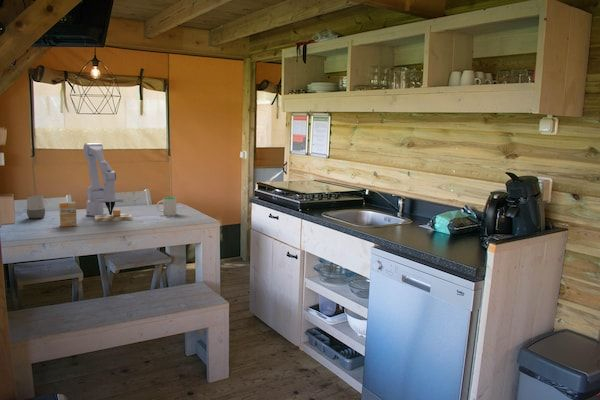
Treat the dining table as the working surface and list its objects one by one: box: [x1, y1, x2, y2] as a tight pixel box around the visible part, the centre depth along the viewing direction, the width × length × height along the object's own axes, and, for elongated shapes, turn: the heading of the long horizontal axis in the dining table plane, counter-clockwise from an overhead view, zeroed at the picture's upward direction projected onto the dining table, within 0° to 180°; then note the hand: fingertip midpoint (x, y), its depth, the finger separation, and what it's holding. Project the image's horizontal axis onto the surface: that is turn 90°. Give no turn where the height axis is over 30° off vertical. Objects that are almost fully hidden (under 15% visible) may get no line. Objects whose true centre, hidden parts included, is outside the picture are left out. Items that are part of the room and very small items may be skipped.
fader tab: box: [112, 208, 122, 216], centre depth 287 cm, size 4×4×3 cm
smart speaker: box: [26, 194, 46, 220], centre depth 284 cm, size 10×9×14 cm
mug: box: [156, 196, 178, 216], centre depth 304 cm, size 12×8×10 cm
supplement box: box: [58, 201, 78, 227], centre depth 266 cm, size 8×5×13 cm, turn 118°
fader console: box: [94, 213, 133, 223], centre depth 287 cm, size 20×10×2 cm, turn 113°
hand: (110, 214), depth 286 cm, fingers closed
